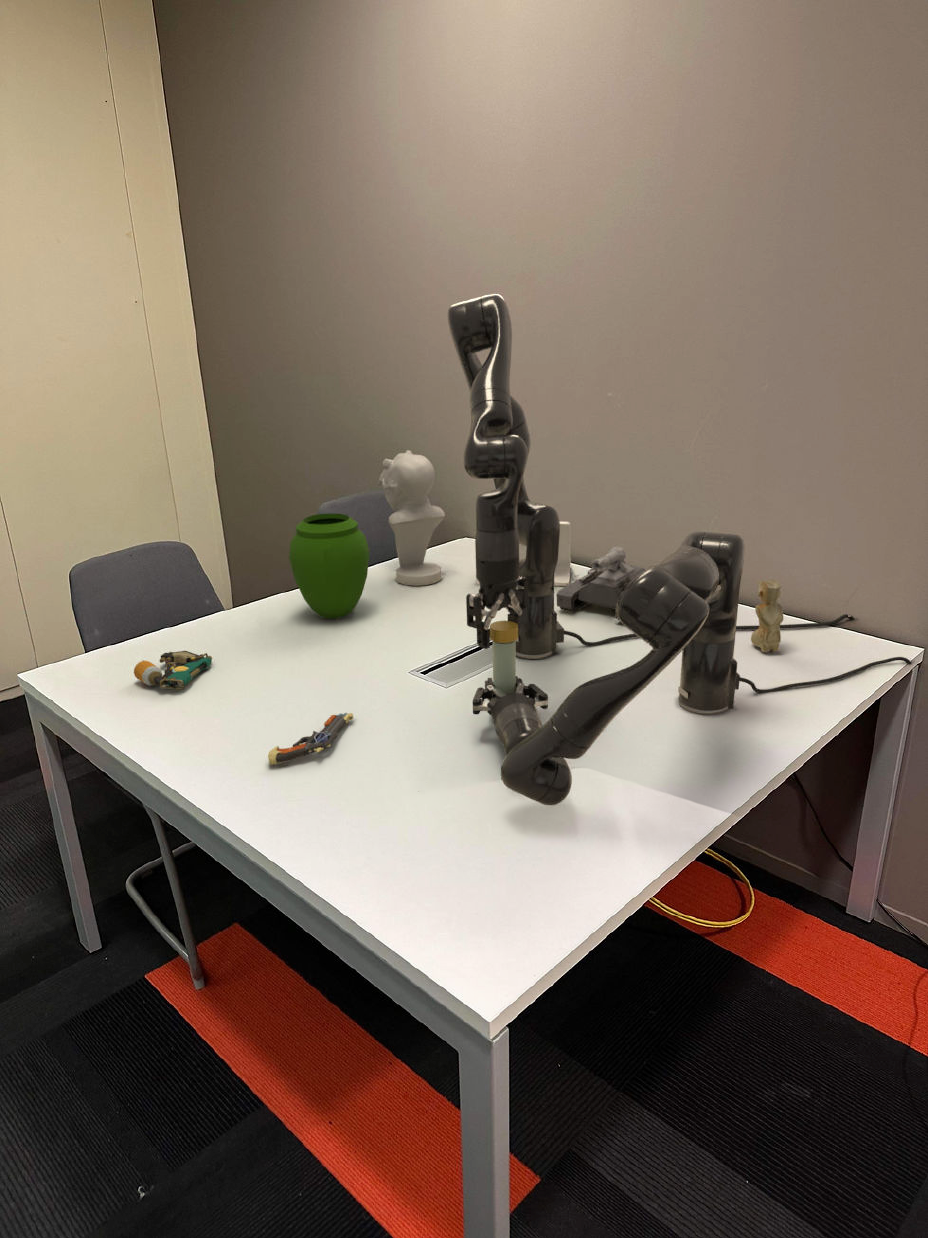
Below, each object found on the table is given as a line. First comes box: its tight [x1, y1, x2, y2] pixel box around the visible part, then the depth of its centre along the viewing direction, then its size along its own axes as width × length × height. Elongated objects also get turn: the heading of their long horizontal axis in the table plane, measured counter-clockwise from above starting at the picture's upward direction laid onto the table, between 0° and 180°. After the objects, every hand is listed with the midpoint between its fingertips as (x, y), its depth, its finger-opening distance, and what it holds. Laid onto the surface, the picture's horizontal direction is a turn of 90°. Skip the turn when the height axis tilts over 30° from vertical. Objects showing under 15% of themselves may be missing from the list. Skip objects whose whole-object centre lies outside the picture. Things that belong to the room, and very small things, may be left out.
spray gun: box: [133, 650, 213, 690], centre depth 180 cm, size 4×17×15 cm
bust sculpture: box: [378, 449, 446, 587], centre depth 236 cm, size 16×24×35 cm, turn 28°
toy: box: [556, 546, 646, 621], centre depth 212 cm, size 25×20×15 cm
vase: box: [288, 512, 370, 620], centre depth 209 cm, size 20×20×24 cm
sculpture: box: [750, 579, 784, 653], centre depth 183 cm, size 6×7×15 cm
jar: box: [491, 640, 517, 693], centre depth 155 cm, size 4×4×18 cm
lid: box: [488, 620, 518, 643], centre depth 152 cm, size 5×5×2 cm
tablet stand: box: [476, 521, 572, 587], centre depth 236 cm, size 18×25×17 cm
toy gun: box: [267, 712, 354, 765], centre depth 151 cm, size 3×19×10 cm
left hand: (499, 640), depth 153 cm, fingers open, 7 cm apart
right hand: (502, 681), depth 158 cm, fingers closed on jar, 4 cm apart
